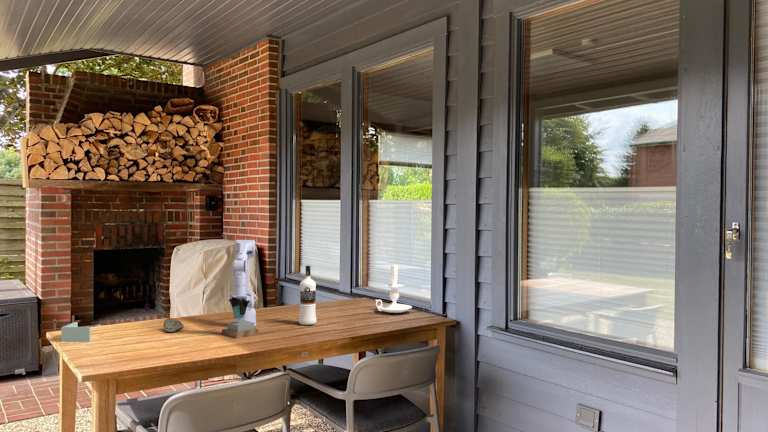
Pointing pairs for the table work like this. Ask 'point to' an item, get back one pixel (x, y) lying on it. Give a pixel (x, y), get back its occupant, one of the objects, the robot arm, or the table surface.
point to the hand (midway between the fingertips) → (239, 314)
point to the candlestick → (393, 295)
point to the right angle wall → (75, 333)
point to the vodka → (307, 300)
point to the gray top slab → (240, 325)
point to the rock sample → (172, 325)
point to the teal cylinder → (237, 312)
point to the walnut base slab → (239, 333)
